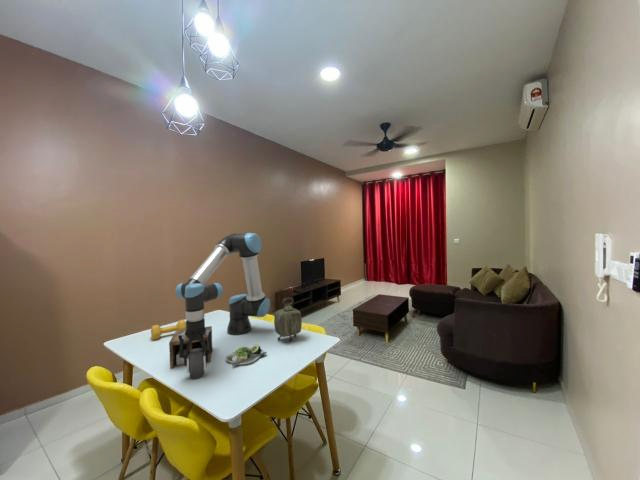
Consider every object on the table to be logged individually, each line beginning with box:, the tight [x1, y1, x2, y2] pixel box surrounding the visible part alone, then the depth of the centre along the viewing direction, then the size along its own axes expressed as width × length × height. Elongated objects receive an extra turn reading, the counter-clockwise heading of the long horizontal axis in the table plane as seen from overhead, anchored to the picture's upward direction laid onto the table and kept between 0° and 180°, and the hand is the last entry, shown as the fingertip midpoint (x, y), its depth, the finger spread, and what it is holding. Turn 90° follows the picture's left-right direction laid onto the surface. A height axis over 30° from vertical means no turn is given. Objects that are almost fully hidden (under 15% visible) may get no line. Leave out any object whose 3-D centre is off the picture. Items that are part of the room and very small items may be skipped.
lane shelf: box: [168, 326, 213, 369], centre depth 133 cm, size 18×16×12 cm
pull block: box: [188, 348, 205, 380], centre depth 122 cm, size 6×19×11 cm, turn 19°
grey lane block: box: [175, 349, 189, 366], centre depth 129 cm, size 5×6×5 cm
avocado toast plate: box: [225, 344, 267, 367], centre depth 131 cm, size 19×18×5 cm
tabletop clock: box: [273, 297, 303, 342], centre depth 152 cm, size 14×9×25 cm, turn 122°
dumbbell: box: [150, 319, 186, 341], centre depth 163 cm, size 19×9×8 cm, turn 126°
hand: (196, 370), depth 116 cm, fingers closed on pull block, 6 cm apart
